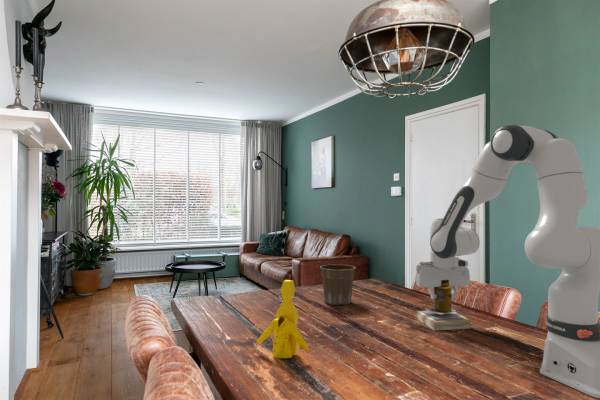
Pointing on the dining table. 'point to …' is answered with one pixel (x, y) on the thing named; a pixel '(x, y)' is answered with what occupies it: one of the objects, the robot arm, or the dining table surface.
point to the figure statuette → (285, 326)
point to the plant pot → (337, 283)
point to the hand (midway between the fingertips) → (442, 298)
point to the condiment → (442, 299)
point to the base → (443, 320)
